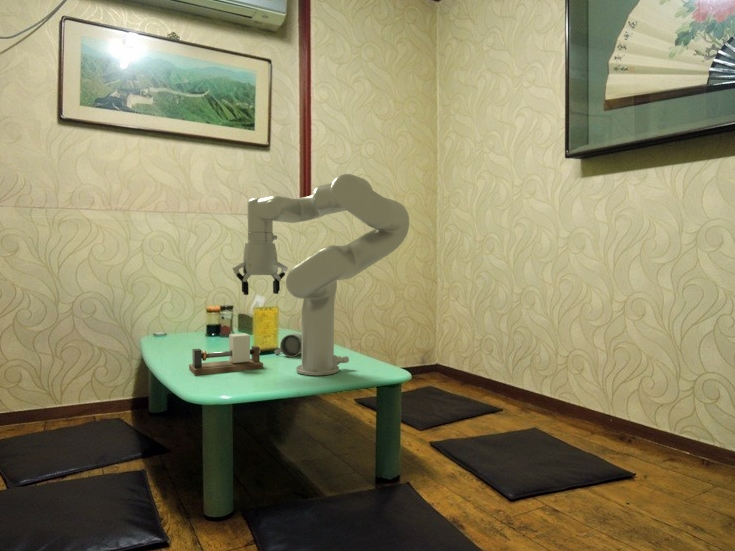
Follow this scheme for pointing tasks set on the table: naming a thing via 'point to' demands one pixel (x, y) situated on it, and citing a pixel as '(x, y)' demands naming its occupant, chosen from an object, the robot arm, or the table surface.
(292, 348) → the ceramic mug
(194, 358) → the rod
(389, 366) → the table surface
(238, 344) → the sleeve
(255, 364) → the board
